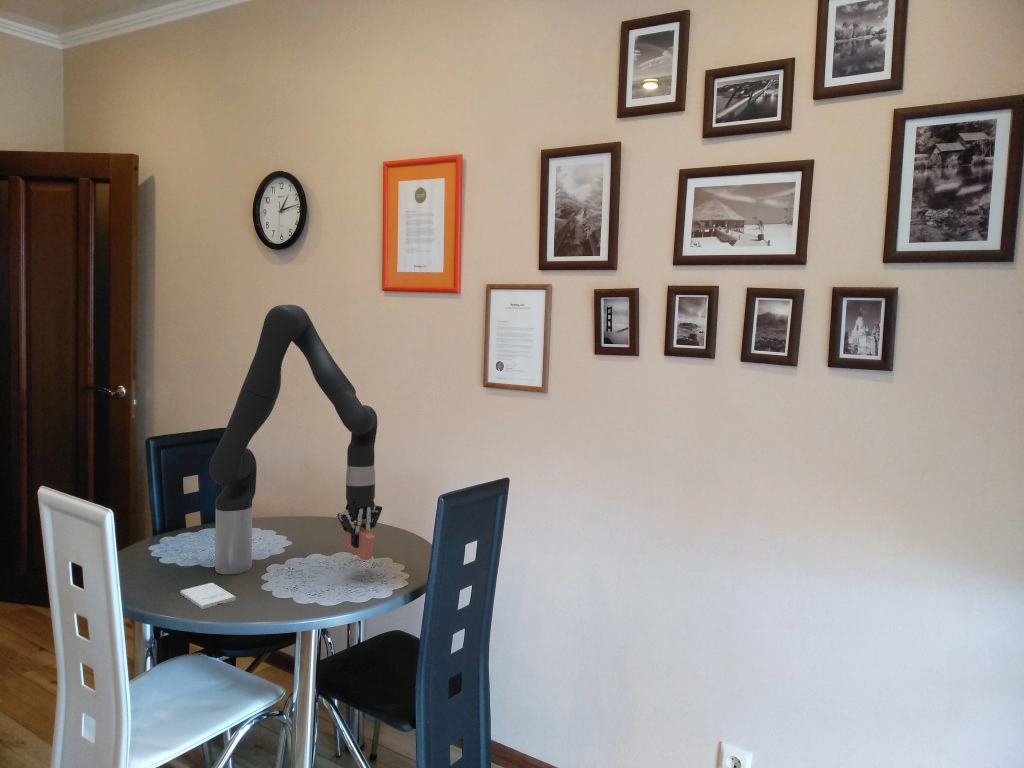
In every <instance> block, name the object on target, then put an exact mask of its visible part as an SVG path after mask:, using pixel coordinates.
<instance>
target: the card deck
mask: <svg viewBox="0 0 1024 768" xmlns="http://www.w3.org/2000/svg"><path fill="white" fill-rule="evenodd" d="M375 541H376V535H374V534H373V533H371V532H370V531H369V532H368V531H367V530H366V529H364V528H363V527H361V525H360V528H359V547H358V548H355V547H353V546H352V545H351V533H348V532H345V536H344V541H343V546H344V547H345V548H346V549H348V550H349V551H350V552H352V553H353V554H354V555H355V556H357V557H358V558H359V559H361V560H362V561H363V562H364V561H368V560H372V557H373V551H374V547H375Z"/></svg>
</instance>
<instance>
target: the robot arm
mask: <svg viewBox="0 0 1024 768" xmlns="http://www.w3.org/2000/svg"><path fill="white" fill-rule="evenodd" d="M262 324H263V325H262V328H261V332H260V336H259V340H258V344H257V347H256V351H255V353H254V356H253V358H252V361H251V363H250V366H249V368H248V371H247V374H246V376H245V378H244V380H243V382H242V386H241V389H240V391H239V393H238V396H237V400H236V402H235V406H234V408H233V410H232V412H231V415H230V418H229V420H228V423H227V426H226V429H225V431H224V433H223V435H222V437H221V439H220V440H219V442H218V445H217V446H216V448H215V450H214V453H213V454H212V457H211V459H210V462H209V466H208V467H209V468H208V470H209V476H210V478H211V480H212V481H213V482H214V483H215V484H217V485H218V486H224V488H223V489H222V491H221V492H220V493H219V494H218V496H216V498H215V533H214V568H215V572H216V573H217V574H221V575H237V574H238V575H239V574H242V573H243V574H244V573H246V572H248V571H250V570H251V569H252V566H253V560H252V559H253V500H254V498H255V495H256V487H257V471H258V469H257V468H258V467H257V459H256V456H255V454H254V453H253V451H252V450H250V449H249V448H248V446H249V443H250V441H251V440H252V438H253V437H254V436H255V434H257V432H259V430H260V429H261V427H262V426H263V425H264V424H265V422H266V421H267V420H268V418H269V417H270V415H271V413H272V412H273V410H274V407H275V406H276V404H277V403H276V402H277V400H278V397H279V394H280V390H281V385H282V366H283V361H284V358H285V356H286V353H287V352H288V349H289V347H290V345H291V343H293V344H294V345H295V346H296V348H298V349H299V350H300V352H301V353H302V355H303V356H304V357H305V359H306V361H307V363H308V366H309V368H310V371H311V373H312V375H313V377H314V380H315V381H316V384H317V385H318V387H319V388H320V389H321V391H322V392H323V394H324V395H325V396H326V398H327V399H328V400H329V401H330V402H331V404H332V405H333V407H334V410H335V411H336V413H337V415H338V417H339V419H340V421H341V422H342V424H343V426H344V427H345V428H346V429H347V430H348V432H350V434H351V436H350V442H349V443H348V447H347V452H346V454H347V457H346V471H345V472H346V473H345V500H346V505H345V510H343V511H342V512H338V513H337V514H336V517H337V519H338V521H339V523H340V525H341V528H342V529H343V531H344V532H345V533H346V532H348V533H351V545H352V546H353V547H355V548H358V547H359V528H360V526H361V527H363V528H364V529H366V530H367V531H368V532H370V531H371V530H372V529H375V528H376V525H377V523H378V520H379V519H380V516H381V513H382V511H383V507H382V506H380V505H377V504H375V501H374V500H375V498H376V468H375V467H376V466H375V455H376V453H375V444H376V440H377V439H376V438H377V432H378V415H377V412H376V410H374V407H373V408H372V407H371V406H370V405H366V404H365V405H364V404H362V403H361V401H360V400H359V398H358V397H357V395H356V393H357V391H356V389H355V386H354V385H353V384H352V383H351V381H350V380H349V379H348V377H347V376H346V375H345V373H344V372H343V371H342V369H341V368H340V366H339V365H338V364H337V362H336V361H335V359H334V358H333V356H332V355H331V354H330V352H329V350H328V349H327V347H326V346H325V345H326V344H324V342H323V340H322V339H321V337H320V336H319V333H318V331H317V329H316V327H315V325H314V323H313V321H312V319H311V317H310V316H309V314H308V313H307V311H306V310H305V309H304V308H302V307H301V306H299V305H296V304H279V305H276V306H274V307H272V308H271V309H269V311H268V313H267V314H266V315H265V318H264V320H263V323H262Z"/></svg>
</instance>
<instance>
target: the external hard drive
mask: <svg viewBox="0 0 1024 768" xmlns="http://www.w3.org/2000/svg"><path fill="white" fill-rule="evenodd" d="M179 592H180V594H181V595H180V594H179V595H180V596H182V597H183V596H184V598H185V599H186V598H187V600H188V601H189V600H190V603H192V604H193V605H195V606H197V607H198V608H199V609H202V610H204V609H209V608H212V606H213V607H216V606H217V605H218V604H219V605H222V604H226V603H230V602H234V601H237V597H236V596H235V595H234V594H232V593H230V592H228V591H227V590H225V589H224V588H222V587H220V586H219V585H217V584H216V583H214V582H208V583H205V584H202V585H201V584H200V585H197V586H192V587H189V588H185V589H181V590H180V591H179Z"/></svg>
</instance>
